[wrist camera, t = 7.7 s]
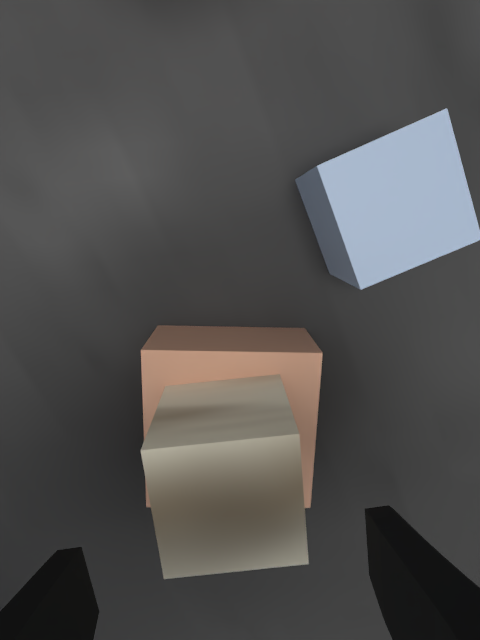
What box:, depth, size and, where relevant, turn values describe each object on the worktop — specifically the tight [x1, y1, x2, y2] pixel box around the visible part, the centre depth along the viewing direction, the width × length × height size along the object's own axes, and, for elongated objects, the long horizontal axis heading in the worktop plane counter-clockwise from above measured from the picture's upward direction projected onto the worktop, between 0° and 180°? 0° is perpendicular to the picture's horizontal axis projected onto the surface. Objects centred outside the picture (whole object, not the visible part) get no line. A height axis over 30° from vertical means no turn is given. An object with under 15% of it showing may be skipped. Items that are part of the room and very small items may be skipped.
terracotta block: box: [141, 325, 323, 508], centre depth 18 cm, size 7×7×4 cm
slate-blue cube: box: [295, 109, 480, 290], centre depth 16 cm, size 4×4×4 cm
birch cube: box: [141, 374, 309, 579], centre depth 14 cm, size 4×4×4 cm
